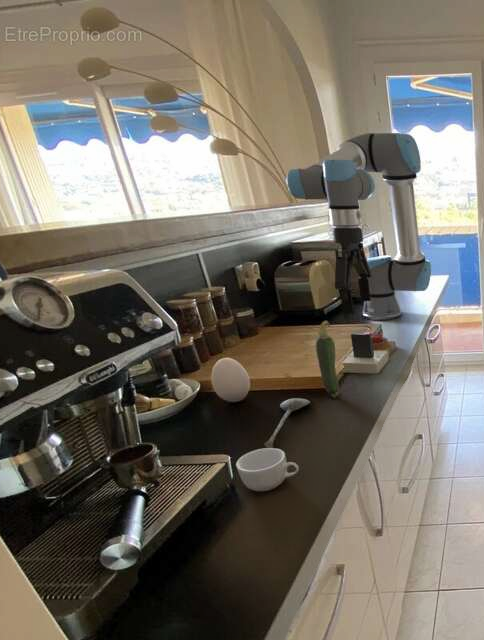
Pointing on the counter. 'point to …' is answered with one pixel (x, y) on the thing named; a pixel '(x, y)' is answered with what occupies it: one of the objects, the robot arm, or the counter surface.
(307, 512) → the counter surface
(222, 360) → the egg
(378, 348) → the button block
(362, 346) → the dark grey block
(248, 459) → the teacup
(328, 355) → the vegetable
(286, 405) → the soupspoon
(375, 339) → the button
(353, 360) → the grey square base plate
